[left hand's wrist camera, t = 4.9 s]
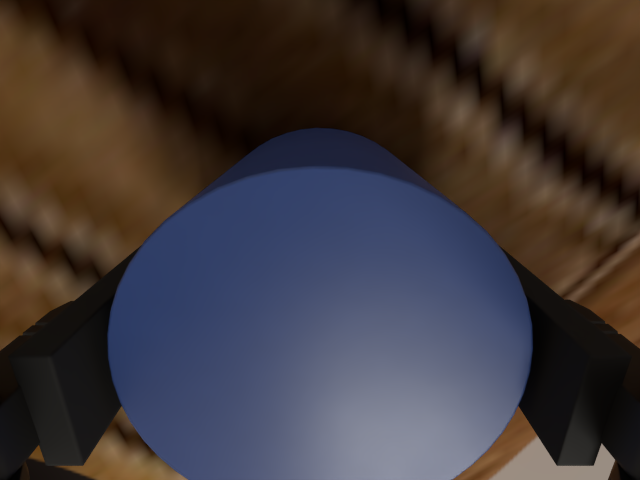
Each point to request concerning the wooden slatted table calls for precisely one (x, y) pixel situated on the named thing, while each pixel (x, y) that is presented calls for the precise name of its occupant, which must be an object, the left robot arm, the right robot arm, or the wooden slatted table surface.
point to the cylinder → (320, 323)
